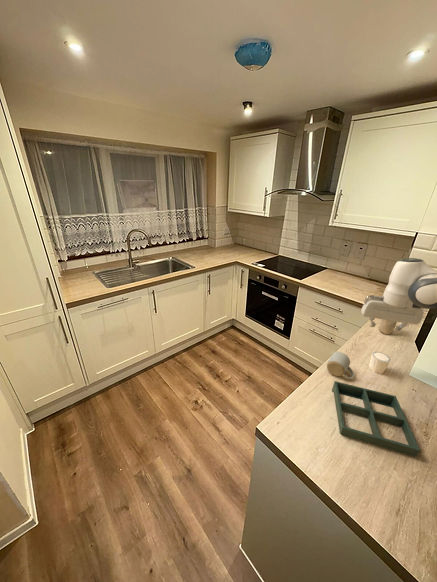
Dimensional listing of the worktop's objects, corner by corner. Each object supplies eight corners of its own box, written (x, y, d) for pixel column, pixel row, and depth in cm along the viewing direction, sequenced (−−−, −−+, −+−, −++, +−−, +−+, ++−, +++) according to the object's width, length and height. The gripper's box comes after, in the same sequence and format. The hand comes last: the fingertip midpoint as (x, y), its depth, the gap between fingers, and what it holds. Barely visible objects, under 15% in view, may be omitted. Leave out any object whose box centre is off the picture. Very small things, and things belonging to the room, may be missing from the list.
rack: (391, 404, 86) (395, 395, 84) (414, 460, 68) (420, 450, 66) (331, 389, 92) (334, 380, 90) (338, 437, 74) (342, 427, 72)
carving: (395, 335, 128) (403, 316, 124) (381, 335, 128) (389, 316, 123) (387, 329, 134) (394, 310, 129) (374, 328, 134) (381, 310, 129)
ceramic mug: (323, 371, 101) (328, 357, 97) (329, 362, 106) (333, 348, 103) (350, 384, 95) (356, 370, 91) (355, 373, 100) (360, 359, 97)
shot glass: (370, 361, 108) (375, 349, 105) (387, 370, 103) (392, 357, 100) (364, 368, 104) (369, 355, 101) (382, 377, 99) (387, 364, 96)
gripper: (368, 297, 91) (358, 327, 97) (430, 306, 86) (416, 337, 92) (364, 291, 97) (355, 320, 102) (422, 299, 92) (409, 329, 97)
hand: (384, 328), depth 97 cm, fingers open, 8 cm apart
